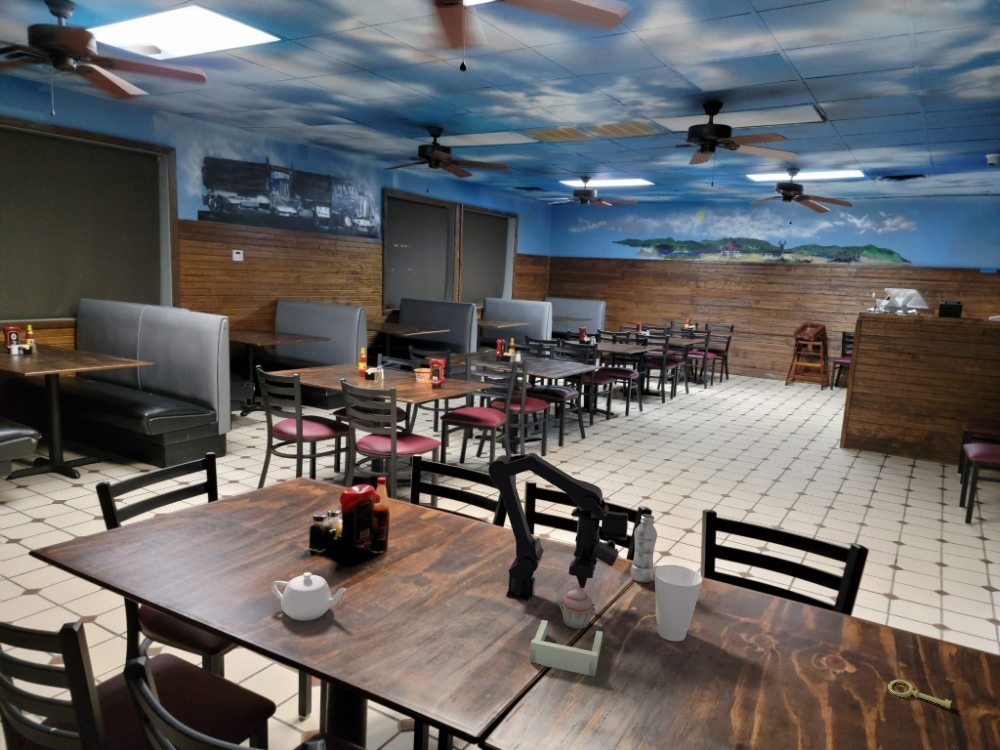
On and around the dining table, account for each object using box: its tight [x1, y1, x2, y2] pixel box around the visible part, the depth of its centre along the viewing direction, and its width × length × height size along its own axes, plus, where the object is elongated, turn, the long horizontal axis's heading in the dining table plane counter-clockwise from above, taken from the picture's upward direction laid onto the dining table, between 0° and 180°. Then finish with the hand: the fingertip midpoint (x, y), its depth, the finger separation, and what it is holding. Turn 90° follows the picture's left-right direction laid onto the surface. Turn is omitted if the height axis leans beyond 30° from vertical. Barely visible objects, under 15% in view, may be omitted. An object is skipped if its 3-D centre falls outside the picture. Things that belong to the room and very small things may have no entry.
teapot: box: [270, 572, 347, 622], centre depth 167 cm, size 20×12×10 cm, turn 79°
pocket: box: [529, 619, 603, 677], centre depth 157 cm, size 15×14×5 cm
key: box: [887, 679, 953, 709], centre depth 151 cm, size 7×12×2 cm, turn 64°
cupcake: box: [558, 586, 597, 630], centre depth 171 cm, size 9×9×10 cm
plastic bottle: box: [630, 513, 658, 584], centre depth 197 cm, size 6×7×20 cm
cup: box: [653, 564, 704, 642], centre depth 168 cm, size 12×12×16 cm
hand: (582, 587), depth 180 cm, fingers closed
